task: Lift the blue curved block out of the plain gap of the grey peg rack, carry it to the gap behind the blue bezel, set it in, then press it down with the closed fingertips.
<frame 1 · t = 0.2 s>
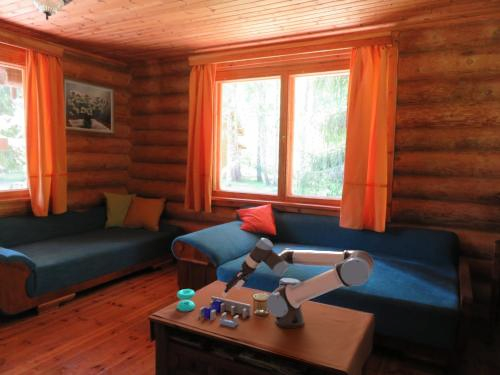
hand: (230, 291, 194), 16 cm above the table, tool tilted 35°, fingers open, 13 cm apart
blue curved block: (211, 314, 203), on the table
grey peg rack: (223, 316, 200), on the table
donuts: (186, 308, 209), on the table
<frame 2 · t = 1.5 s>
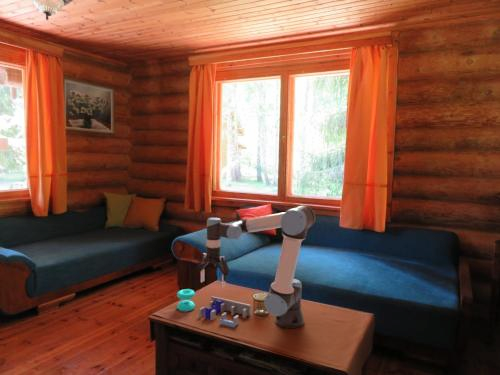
hand: (212, 283, 201), 17 cm above the table, tool pointing down, fingers open, 13 cm apart
nothing on the table moved.
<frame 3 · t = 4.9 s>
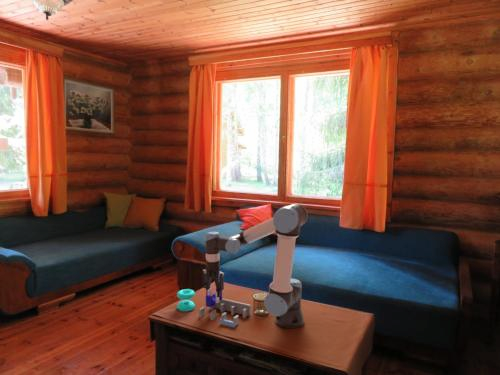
hand: (213, 301, 202), 7 cm above the table, tool pointing down, fingers closed on blue curved block, 4 cm apart
blue curved block: (213, 302, 201), point 7 cm above the table, touching gripper
everything else where it was.
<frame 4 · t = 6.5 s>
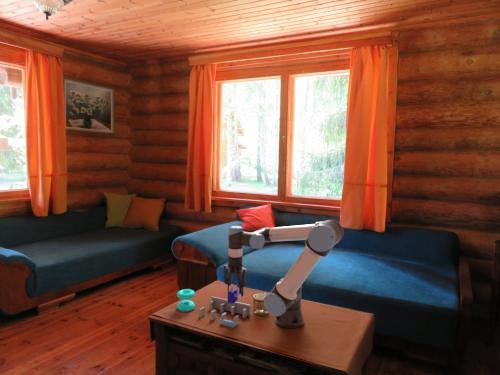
hand: (234, 297, 195), 12 cm above the table, tool pointing down, fingers closed on blue curved block, 4 cm apart
blue curved block: (234, 299, 195), point 11 cm above the table, touching gripper
everything else where it was.
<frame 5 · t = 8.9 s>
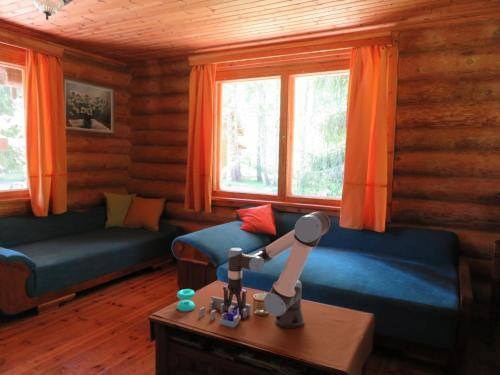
hand: (234, 318, 197), 0 cm above the table, tool pointing down, fingers closed on blue curved block, 5 cm apart
blue curved block: (234, 320, 196), on the table, touching gripper
everything else where it was.
when the fingers open (0 cm above the table, at t = 8.9 s): blue curved block stays where it is, on the table.
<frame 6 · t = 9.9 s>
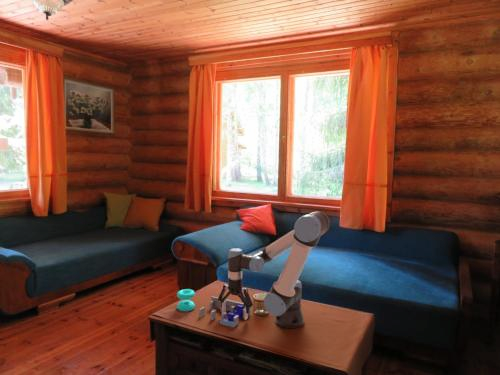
hand: (234, 316, 196), 2 cm above the table, tool pointing down, fingers open, 13 cm apart
blue curved block: (234, 320, 196), on the table
everything else where it was.
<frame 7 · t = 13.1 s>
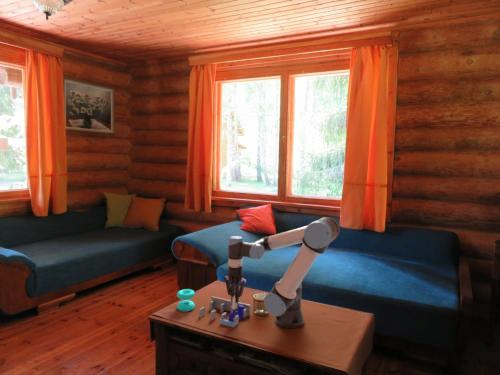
hand: (234, 308, 196), 6 cm above the table, tool pointing down, fingers closed
nothing on the table moved.
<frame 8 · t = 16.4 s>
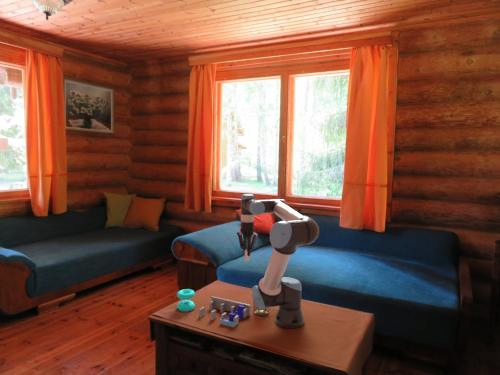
hand: (246, 260, 212), 26 cm above the table, tool pointing down, fingers closed
nothing on the table moved.
at the end: blue curved block 0.8 cm from the target spot, on the table; blue curved block tilted 0°; the gripper is holding nothing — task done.
